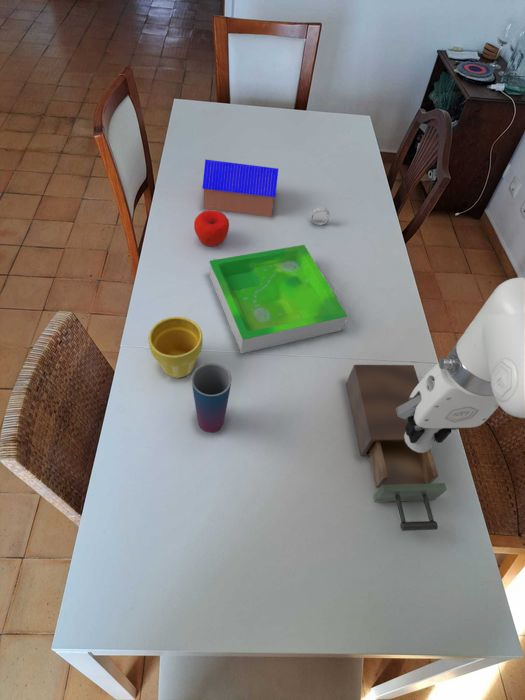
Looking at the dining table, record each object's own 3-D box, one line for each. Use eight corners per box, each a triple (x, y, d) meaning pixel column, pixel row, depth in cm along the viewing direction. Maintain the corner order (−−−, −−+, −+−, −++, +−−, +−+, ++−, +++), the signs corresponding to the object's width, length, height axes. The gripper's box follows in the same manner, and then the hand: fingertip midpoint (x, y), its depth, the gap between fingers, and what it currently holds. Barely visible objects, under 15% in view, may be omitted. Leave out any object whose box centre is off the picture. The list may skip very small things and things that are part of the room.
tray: (342, 330, 107) (347, 316, 103) (241, 353, 100) (242, 339, 96) (301, 259, 120) (304, 244, 116) (209, 275, 113) (209, 260, 109)
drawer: (444, 533, 79) (458, 525, 75) (381, 536, 78) (391, 527, 74) (412, 424, 92) (422, 411, 88) (358, 424, 91) (366, 411, 87)
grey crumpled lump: (327, 227, 129) (331, 212, 125) (310, 225, 129) (313, 211, 125) (326, 221, 131) (330, 206, 127) (309, 219, 131) (312, 204, 127)
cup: (189, 433, 87) (186, 391, 75) (198, 403, 91) (197, 359, 79) (224, 440, 87) (227, 399, 75) (231, 409, 91) (235, 366, 79)
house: (207, 184, 136) (208, 147, 127) (274, 193, 137) (279, 156, 128) (202, 209, 129) (202, 171, 119) (272, 217, 130) (277, 181, 120)
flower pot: (154, 345, 98) (149, 315, 91) (202, 345, 100) (202, 315, 92) (151, 386, 92) (146, 357, 85) (202, 384, 94) (202, 357, 86)
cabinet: (422, 455, 89) (437, 438, 84) (360, 456, 88) (371, 439, 82) (401, 383, 99) (413, 364, 93) (345, 383, 98) (354, 364, 92)
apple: (203, 257, 117) (202, 232, 111) (189, 236, 121) (188, 211, 115) (234, 248, 120) (235, 224, 114) (219, 228, 124) (220, 204, 118)
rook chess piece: (402, 450, 71) (422, 426, 65) (403, 425, 74) (422, 400, 68) (431, 457, 71) (453, 433, 65) (430, 432, 74) (451, 407, 67)
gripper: (424, 392, 53) (376, 458, 67) (554, 391, 55) (481, 455, 69) (407, 341, 57) (366, 413, 72) (528, 342, 59) (464, 412, 74)
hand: (423, 433), depth 70 cm, fingers closed on rook chess piece, 3 cm apart
